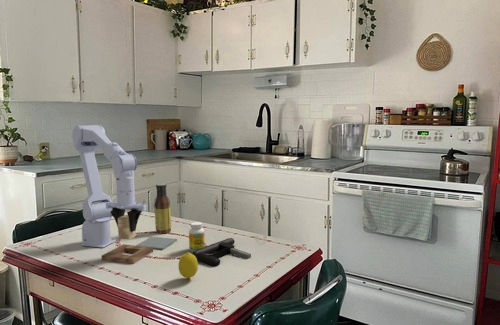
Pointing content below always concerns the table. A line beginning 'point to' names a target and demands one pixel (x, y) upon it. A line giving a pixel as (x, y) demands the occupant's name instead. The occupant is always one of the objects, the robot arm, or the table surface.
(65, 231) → the table surface
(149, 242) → the grey square plate
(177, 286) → the table surface
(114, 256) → the brown wooden square frame
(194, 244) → the supplement bottle
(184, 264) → the lemon
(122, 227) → the beech block
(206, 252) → the toy gun
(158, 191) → the sauce bottle
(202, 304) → the table surface
